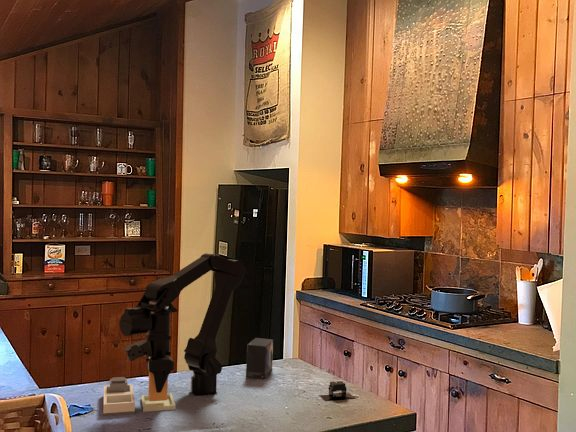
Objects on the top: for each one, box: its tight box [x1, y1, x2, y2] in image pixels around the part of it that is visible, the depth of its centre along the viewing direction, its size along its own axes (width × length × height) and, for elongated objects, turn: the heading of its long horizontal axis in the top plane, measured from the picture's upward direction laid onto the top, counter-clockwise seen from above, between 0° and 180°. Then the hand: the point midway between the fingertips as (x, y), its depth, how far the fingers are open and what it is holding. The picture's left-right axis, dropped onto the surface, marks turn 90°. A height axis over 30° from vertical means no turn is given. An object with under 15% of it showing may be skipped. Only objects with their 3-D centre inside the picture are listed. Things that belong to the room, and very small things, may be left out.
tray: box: [140, 393, 177, 413], centre depth 160 cm, size 8×10×2 cm
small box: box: [245, 337, 274, 380], centre depth 193 cm, size 11×6×10 cm, turn 168°
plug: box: [148, 371, 169, 401], centre depth 160 cm, size 4×4×8 cm
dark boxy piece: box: [318, 380, 357, 402], centre depth 171 cm, size 12×7×5 cm, turn 107°
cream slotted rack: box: [102, 376, 136, 417], centre depth 159 cm, size 8×16×6 cm, turn 17°
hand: (158, 389), depth 160 cm, fingers closed on plug, 4 cm apart
